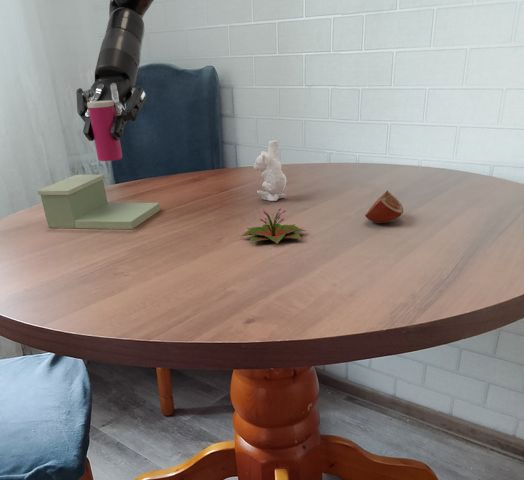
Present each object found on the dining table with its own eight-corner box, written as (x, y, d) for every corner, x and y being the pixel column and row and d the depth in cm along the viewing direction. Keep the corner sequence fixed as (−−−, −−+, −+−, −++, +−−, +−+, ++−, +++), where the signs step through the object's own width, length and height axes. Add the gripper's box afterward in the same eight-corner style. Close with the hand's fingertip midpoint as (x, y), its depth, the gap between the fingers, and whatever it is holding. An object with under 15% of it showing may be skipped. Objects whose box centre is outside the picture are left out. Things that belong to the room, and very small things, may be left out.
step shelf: (131, 229, 102) (125, 190, 99) (46, 228, 106) (36, 190, 103) (160, 209, 115) (156, 174, 111) (83, 208, 119) (76, 174, 115)
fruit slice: (369, 215, 103) (371, 188, 101) (405, 216, 101) (408, 189, 98) (360, 227, 96) (361, 199, 94) (398, 229, 94) (401, 201, 92)
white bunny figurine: (265, 194, 122) (263, 137, 116) (293, 195, 120) (292, 138, 114) (251, 203, 115) (247, 144, 110) (280, 205, 113) (278, 144, 107)
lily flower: (240, 250, 89) (238, 222, 86) (237, 229, 99) (236, 204, 97) (313, 245, 89) (313, 217, 87) (302, 224, 100) (302, 199, 97)
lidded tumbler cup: (106, 162, 101) (95, 103, 96) (93, 159, 103) (81, 102, 99) (127, 157, 103) (118, 100, 99) (113, 155, 106) (104, 100, 101)
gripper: (75, 48, 102) (56, 125, 98) (145, 44, 99) (128, 123, 95) (94, 78, 109) (77, 151, 105) (160, 74, 106) (145, 150, 102)
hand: (101, 137), depth 100 cm, fingers closed on lidded tumbler cup, 4 cm apart
